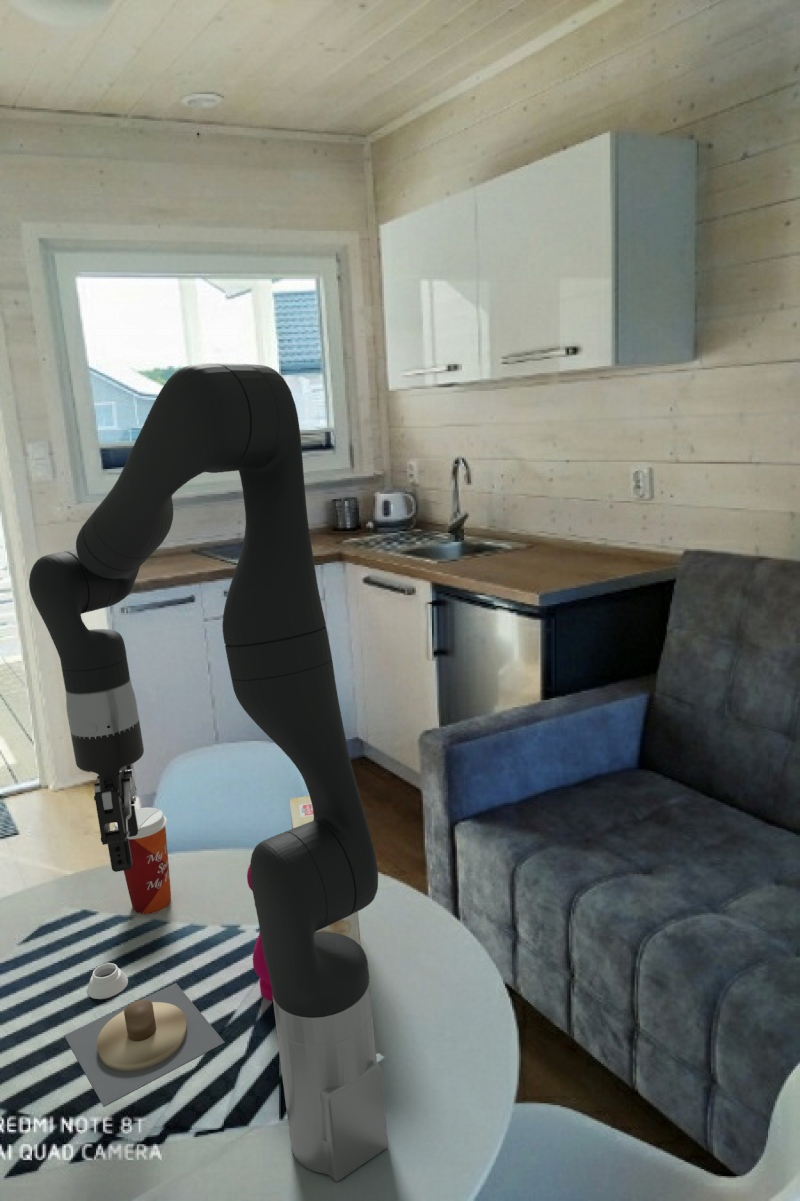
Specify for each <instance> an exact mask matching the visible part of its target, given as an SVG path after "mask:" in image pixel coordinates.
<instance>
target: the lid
mask: <svg viewBox="0 0 800 1201" xmlns="http://www.w3.org/2000/svg"><path fill="white" fill-rule="evenodd" d="M126 1006H127V1007H126ZM126 1006H125V1007H126V1009H125V1010H124V1011H123V1012H121V1013H119V1014H118V1015H116V1016H115V1017H113V1018H112V1019H111V1020H110V1021H109V1022H108V1023H107V1024H106V1025H105V1026H104V1027H103V1029H102V1030H101V1032H100V1034H99V1036H98V1039H97V1049H98V1054H99V1058H100V1060H101V1061H102V1063H103V1064H105V1065H106V1066H107V1067H109V1068H111V1069H114V1070H118V1071H136V1070H141V1069H145V1068H149V1067H151V1066H154V1065H156V1064H158V1063H160V1062H162V1061H164V1060H165V1059H167V1058H168V1057H170V1056H171V1055H172V1054H173V1053H175V1052H176V1051H177V1050H178V1049H179V1047H180V1046H181V1045H182V1043H183V1042H184V1040H185V1037H186V1034H187V1024H186V1017H185V1015H184V1013H183V1012H182V1010H181V1009H179V1008H178V1007H176V1006H174V1005H172V1004H169V1003H163V1002H150V1001H148V1000H141V999H138V1000H135V1001H132V1002H131V1003H129V1004H128V1005H126Z"/></svg>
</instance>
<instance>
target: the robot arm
mask: <svg viewBox="0 0 800 1201" xmlns="http://www.w3.org/2000/svg"><path fill="white" fill-rule="evenodd" d="M237 471H238V472H239V477H240V482H241V489H242V496H243V497H242V498H243V503H244V512H245V514H244V516H245V526H244V535H243V536H244V537H243V542H242V543H243V544H242V548H241V551H240V554H239V558H238V561H237V564H236V566H235V569H234V571H233V576H232V580H231V581H230V585H229V588H228V593H227V596H226V600H225V604H224V610H223V616H222V625H221V626H222V634H223V635H222V636H223V642H224V649H225V652H226V653H225V654H226V658H227V664H228V668H229V674H230V679H231V684H232V688H233V691H234V694H235V695H234V696H235V697H236V699H237V701H238V703H239V704H240V706H241V707H242V709H243V711H244V712H245V713H246V714H247V715H248V717H250V719H251V720H252V721H253V722H254V723H255V724H256V725H257V726H258V728H259V729H261V730H262V731H263V732H264V733H265V734H266V735H267V737H268V738H270V739H271V741H272V742H274V743H275V744H276V745H277V747H278V748H280V750H281V751H283V753H284V754H285V755H286V756H287V757H288V758H289V759H290V760H291V762H292V763H293V765H295V767H296V769H297V770H298V771H299V774H300V775H301V776H302V780H303V782H304V783H305V786H306V789H307V792H308V796H310V799H311V802H312V807H313V814H314V820H313V821H311V822H309V823H306V824H304V825H301V826H299V827H296V828H293V829H292V828H291V829H289V830H286V831H284V832H282V833H279V834H276V835H273V836H271V837H269V838H266V839H264V840H262V841H260V842H259V843H258V844H257V845H256V846H255V847H254V849H253V851H252V854H251V857H250V864H249V866H250V875H251V884H252V890H251V891H252V896H253V900H254V907H255V906H256V907H255V910H256V914H257V922H258V927H259V933H261V940H262V947H263V953H264V957H265V962H266V965H267V969H268V973H269V976H270V981H271V986H272V994H273V1001H272V1003H273V1011H274V1018H275V1026H276V1034H277V1035H276V1036H277V1044H278V1053H279V1060H280V1069H281V1075H282V1084H283V1085H282V1086H283V1093H284V1100H285V1107H286V1108H285V1110H286V1116H287V1117H286V1118H287V1124H288V1130H289V1131H288V1132H289V1140H290V1147H291V1151H292V1153H293V1155H294V1157H295V1159H296V1160H297V1162H299V1164H301V1165H302V1166H303V1167H304V1168H306V1169H307V1170H309V1171H312V1172H315V1173H319V1174H324V1175H328V1176H329V1177H331V1179H333V1181H334V1182H338V1181H341V1180H342V1179H344V1178H345V1177H347V1176H348V1175H349V1174H351V1173H352V1172H354V1171H356V1170H357V1169H358V1168H359V1167H361V1166H363V1165H364V1164H365V1163H367V1162H368V1161H370V1160H371V1159H373V1158H374V1157H376V1156H378V1154H380V1153H382V1152H383V1151H384V1150H386V1149H388V1147H389V1141H388V1129H387V1119H386V1107H385V1096H384V1095H385V1094H384V1085H383V1075H382V1066H381V1064H379V1062H378V1060H377V1050H376V1041H375V1029H374V1018H373V1007H372V1006H373V1005H372V997H371V996H372V995H371V994H372V993H371V984H370V974H369V973H370V972H369V963H368V958H367V954H366V953H365V950H364V948H363V947H362V945H361V946H360V945H359V944H358V943H357V942H356V941H354V940H353V939H351V938H349V937H347V936H345V935H342V934H338V933H332V932H316V931H318V930H320V929H323V928H325V927H327V926H329V925H331V924H333V923H335V922H337V921H339V920H341V919H344V918H346V917H347V916H350V915H352V914H353V913H355V912H357V911H358V912H360V911H361V910H363V909H365V908H367V907H368V906H369V905H370V904H371V903H372V902H373V901H374V900H375V898H376V895H377V892H378V889H379V870H378V868H379V867H378V861H377V856H376V852H375V847H374V844H373V839H372V835H371V831H370V828H369V824H368V820H367V817H366V816H367V815H366V812H365V809H364V806H363V801H362V799H361V794H360V791H359V787H358V784H357V780H356V777H355V773H354V769H353V765H352V760H351V758H350V753H349V749H348V744H347V738H346V737H347V736H346V733H345V728H344V723H343V718H342V711H341V707H340V701H339V697H338V690H337V683H336V682H337V681H336V677H335V669H334V662H333V656H332V649H331V646H330V640H329V634H328V633H329V632H328V628H327V623H326V619H325V614H324V610H323V606H322V601H321V600H322V599H321V596H320V592H319V591H320V590H319V586H318V580H317V574H316V566H315V561H314V555H313V554H314V552H313V548H312V540H311V533H310V528H309V518H308V510H307V499H306V486H305V475H304V474H305V473H304V462H303V449H302V438H301V429H300V422H299V416H298V411H297V406H296V403H295V399H294V397H293V393H292V391H291V388H290V387H289V385H288V383H287V382H286V380H285V378H284V377H283V375H281V374H280V373H279V372H278V371H277V370H275V369H274V368H272V367H270V366H267V365H263V364H255V363H254V364H252V363H250V364H249V363H219V362H218V363H217V362H216V363H212V362H211V363H210V362H209V363H208V362H207V363H205V362H204V363H203V362H202V363H201V362H200V363H195V364H194V363H193V364H189V365H186V366H183V367H181V368H179V369H177V370H176V371H175V372H174V373H173V374H171V375H170V376H169V378H168V379H167V381H165V383H164V384H163V387H162V388H161V390H159V393H158V395H157V396H156V399H155V400H154V402H153V404H152V406H151V408H150V410H149V412H148V414H147V416H146V419H145V420H144V422H143V425H142V428H141V429H140V432H139V433H138V435H137V437H136V439H135V442H134V444H133V446H132V449H131V451H130V453H129V455H128V458H127V460H126V462H125V464H124V466H123V467H122V471H121V472H120V474H119V477H118V478H117V481H116V482H115V484H114V485H113V487H112V488H111V490H110V491H109V493H108V494H107V495H105V496H106V497H105V498H103V500H102V501H101V502H100V503H99V504H98V506H97V507H96V508H95V510H94V511H93V512H92V513H91V515H89V517H88V518H87V520H86V521H85V522H84V524H83V525H82V526H81V528H80V529H79V531H78V533H77V536H76V541H75V549H71V550H66V551H65V550H64V551H60V552H54V553H51V554H50V553H49V554H46V555H44V556H41V557H40V558H38V559H37V560H36V561H35V563H34V564H33V566H32V567H31V570H30V574H29V578H28V579H29V580H28V587H29V592H30V596H31V599H32V601H33V603H34V605H35V608H36V609H37V612H38V614H39V615H40V617H41V619H42V621H43V624H45V626H46V629H47V631H48V633H49V635H50V638H51V640H52V642H53V645H54V647H55V649H56V651H57V654H58V657H59V660H60V666H61V667H60V668H61V672H62V678H63V685H64V689H65V698H66V699H65V701H66V704H65V706H66V714H67V719H68V720H67V721H68V725H69V732H70V735H71V737H70V738H71V744H72V747H73V754H74V760H75V765H76V767H77V768H78V769H79V770H80V771H83V772H86V773H87V772H88V773H95V774H96V777H97V782H94V796H93V800H94V802H95V808H96V814H97V819H98V820H97V821H98V827H99V832H100V842H101V844H102V845H104V846H105V845H107V848H108V854H109V859H110V866H111V871H113V872H114V873H115V872H116V873H118V872H124V870H129V869H131V867H132V863H133V862H132V856H131V850H130V844H129V838H128V837H132V836H136V835H137V834H138V825H137V819H136V813H135V809H136V807H135V806H136V805H135V804H136V801H137V797H136V794H137V792H136V791H137V785H136V783H135V776H134V774H135V773H134V770H133V767H132V766H133V764H134V763H136V762H138V761H139V760H140V759H141V758H142V757H143V755H144V753H145V749H144V743H143V742H144V741H143V735H142V730H141V723H140V717H139V711H138V704H137V698H136V694H135V691H134V688H133V685H132V681H131V676H130V670H129V664H128V657H127V655H128V654H127V650H126V646H125V645H126V644H125V640H124V638H123V636H122V635H121V634H120V633H119V632H118V631H116V630H113V629H109V628H107V629H106V628H98V629H95V628H94V629H89V628H88V627H87V626H86V624H85V623H84V621H83V618H82V614H85V613H86V614H87V613H90V612H93V611H96V610H97V611H98V610H100V609H105V608H109V607H112V606H115V605H117V604H118V603H121V602H122V601H123V600H124V599H126V598H127V597H128V596H129V595H130V594H131V592H132V590H133V588H134V585H135V582H136V579H137V577H138V574H139V572H140V568H141V566H142V565H143V564H145V562H146V561H147V560H148V559H149V558H150V557H151V555H153V553H154V552H155V551H157V549H158V548H160V546H161V545H162V543H163V542H164V541H165V540H166V538H167V536H168V534H169V533H170V530H171V527H172V524H173V519H174V503H173V495H174V494H175V493H176V492H177V491H178V490H179V489H181V488H182V487H183V486H184V485H185V484H187V483H188V482H189V481H191V480H192V479H194V478H196V477H197V476H199V475H201V474H203V473H210V474H218V473H225V472H228V473H229V472H237ZM115 822H117V825H118V830H113V829H112V830H111V826H110V824H115Z"/></svg>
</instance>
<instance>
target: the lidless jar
mask: <svg viewBox="0 0 800 1201" xmlns="http://www.w3.org/2000/svg"><path fill="white" fill-rule="evenodd" d="M128 983H129V979H128V977H127V975H126V974H125V972H123V970H122V969H121V968H119V967H118V965H117V964H115V963H112V962H108V963H103V964H101V965H100V964H99V966H97V967H96V968H94V969H93V972H92V975H91V977H90V979H89V982H88V986H87V988H86V993H87V996H88V997H89V998H92V999H98V1000H104V999H109V998H112V997H114V996H116V995H118V994H120V993H121V992H123V991H124V990H125V989H126V987H127V986H128Z"/></svg>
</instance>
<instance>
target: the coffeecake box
mask: <svg viewBox="0 0 800 1201" xmlns="http://www.w3.org/2000/svg"><path fill="white" fill-rule="evenodd" d="M289 809H290V810H289V811H290V812H289V813H290V819H291V829H293V828H296V827H299V826H301V825H304V824H306V823H309V822H311V821H313V820H314V814H313V807H312V802H311V799H310V795H308V796H298V797H291V798H289ZM316 932H332V933H338V934H342V935H345V936H347V937H349V938H351V939H353V940H354V941H356V942H357V943H358V944H359V945H360V946H361V947H362V945H361V933H360V922H359V911H357V912H355V913H353V914H352V915H350V916H347V917H346V918H344V919H341V920H339V921H337V922H335V923H333V924H331V925H329V926H327V927H325V928H323V929H320V930H318V931H316Z"/></svg>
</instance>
